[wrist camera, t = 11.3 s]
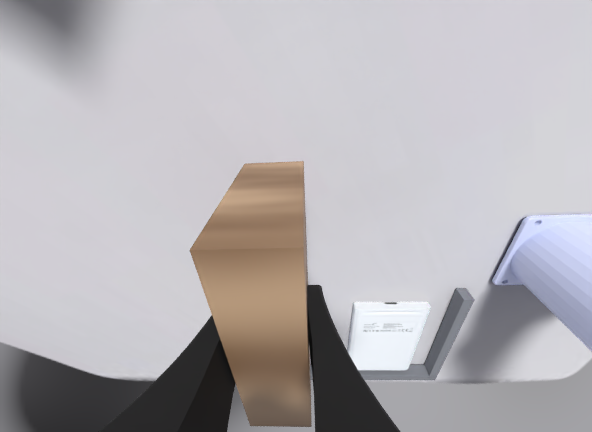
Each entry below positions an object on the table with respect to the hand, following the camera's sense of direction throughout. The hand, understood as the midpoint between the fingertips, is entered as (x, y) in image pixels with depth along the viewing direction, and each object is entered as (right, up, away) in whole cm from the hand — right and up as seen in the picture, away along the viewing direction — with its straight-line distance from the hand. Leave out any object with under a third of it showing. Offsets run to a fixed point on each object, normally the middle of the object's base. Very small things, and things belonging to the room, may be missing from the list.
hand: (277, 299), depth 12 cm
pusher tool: (0, +2, +3) cm, 4 cm away
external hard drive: (+12, -10, +19) cm, 24 cm away
